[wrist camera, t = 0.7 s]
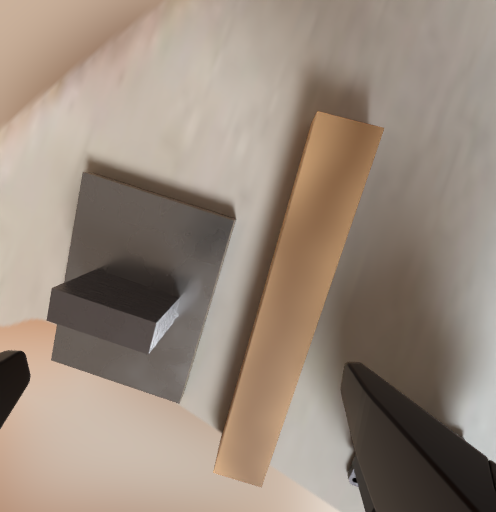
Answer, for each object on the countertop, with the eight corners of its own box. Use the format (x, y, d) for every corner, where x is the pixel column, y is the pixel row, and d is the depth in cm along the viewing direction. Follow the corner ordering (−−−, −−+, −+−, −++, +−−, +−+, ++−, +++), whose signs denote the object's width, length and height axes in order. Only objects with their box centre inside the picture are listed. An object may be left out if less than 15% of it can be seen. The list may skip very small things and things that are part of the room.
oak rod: (366, 138, 18) (384, 128, 15) (263, 450, 23) (261, 487, 20) (310, 124, 18) (317, 111, 15) (220, 437, 23) (213, 472, 21)
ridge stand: (236, 219, 19) (222, 228, 14) (183, 394, 22) (157, 450, 18) (92, 172, 19) (31, 166, 15) (60, 352, 23) (2, 396, 18)
